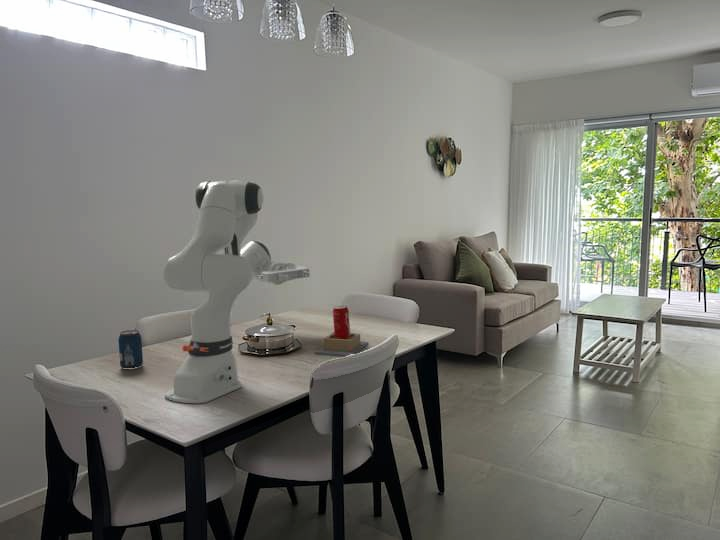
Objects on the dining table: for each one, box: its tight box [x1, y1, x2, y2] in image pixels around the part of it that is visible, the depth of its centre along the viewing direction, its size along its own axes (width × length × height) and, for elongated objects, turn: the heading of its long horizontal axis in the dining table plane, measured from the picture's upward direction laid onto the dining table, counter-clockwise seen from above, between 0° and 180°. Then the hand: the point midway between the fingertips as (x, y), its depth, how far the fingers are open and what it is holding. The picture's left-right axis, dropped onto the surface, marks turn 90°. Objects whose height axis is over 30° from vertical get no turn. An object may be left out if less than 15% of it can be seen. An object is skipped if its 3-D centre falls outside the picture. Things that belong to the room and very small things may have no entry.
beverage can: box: [332, 305, 351, 340], centre depth 193 cm, size 6×6×15 cm
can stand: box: [314, 331, 369, 357], centre depth 194 cm, size 18×14×5 cm
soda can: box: [118, 329, 144, 369], centre depth 175 cm, size 7×7×12 cm
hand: (298, 276), depth 200 cm, fingers open, 8 cm apart
